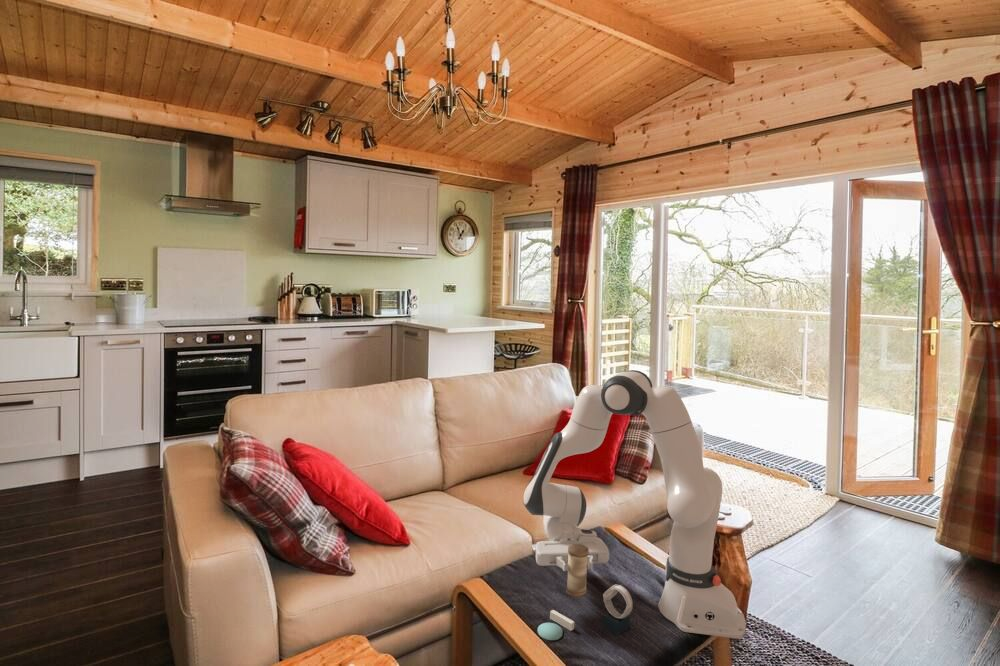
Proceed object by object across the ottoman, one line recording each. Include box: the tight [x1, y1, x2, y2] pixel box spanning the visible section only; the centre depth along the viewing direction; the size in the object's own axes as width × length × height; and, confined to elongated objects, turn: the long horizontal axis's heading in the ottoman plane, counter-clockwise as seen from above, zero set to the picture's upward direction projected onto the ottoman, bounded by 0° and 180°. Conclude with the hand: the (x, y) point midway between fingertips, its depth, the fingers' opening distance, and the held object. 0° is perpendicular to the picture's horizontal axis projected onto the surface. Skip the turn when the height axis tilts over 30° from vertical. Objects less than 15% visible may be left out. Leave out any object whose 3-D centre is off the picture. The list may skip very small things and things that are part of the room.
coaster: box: [537, 622, 564, 641], centre depth 145 cm, size 6×6×1 cm
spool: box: [565, 544, 589, 598], centre depth 151 cm, size 5×5×12 cm
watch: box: [602, 583, 634, 636], centre depth 148 cm, size 6×8×11 cm
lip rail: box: [549, 609, 575, 632], centre depth 149 cm, size 7×1×2 cm, turn 47°
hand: (578, 568), depth 150 cm, fingers closed on spool, 5 cm apart
